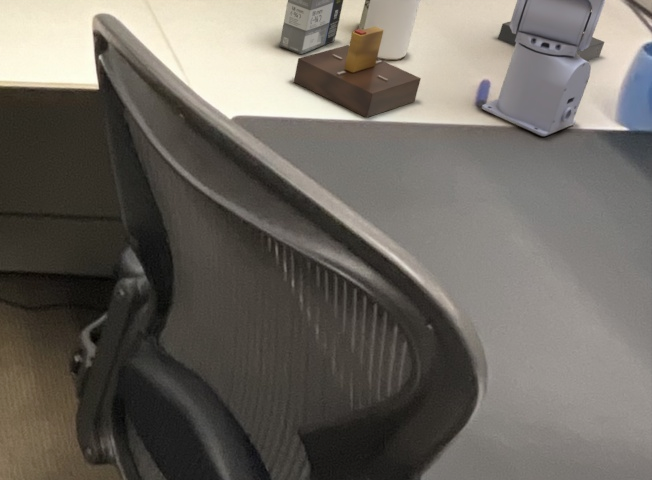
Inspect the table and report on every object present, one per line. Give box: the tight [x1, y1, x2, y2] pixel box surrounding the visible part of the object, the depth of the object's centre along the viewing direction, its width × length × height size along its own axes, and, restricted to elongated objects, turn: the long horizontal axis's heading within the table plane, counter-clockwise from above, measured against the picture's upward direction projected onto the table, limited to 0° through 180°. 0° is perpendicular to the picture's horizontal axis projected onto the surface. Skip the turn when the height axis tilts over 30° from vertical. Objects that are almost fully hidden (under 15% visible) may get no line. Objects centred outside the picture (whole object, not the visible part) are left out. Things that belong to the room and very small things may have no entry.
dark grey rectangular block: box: [497, 20, 605, 62], centre depth 161 cm, size 12×9×4 cm
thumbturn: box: [344, 27, 383, 73], centre depth 137 cm, size 5×1×5 cm, turn 135°
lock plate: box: [293, 44, 421, 118], centre depth 139 cm, size 12×10×3 cm
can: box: [364, 0, 421, 61], centre depth 148 cm, size 6×6×12 cm
